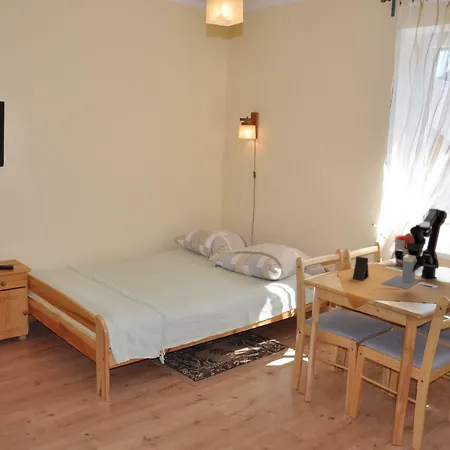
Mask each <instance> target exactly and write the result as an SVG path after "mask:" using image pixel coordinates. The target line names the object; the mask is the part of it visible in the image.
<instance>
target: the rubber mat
mask: <svg viewBox="0 0 450 450" xmlns="http://www.w3.org/2000/svg"><path fill="white" fill-rule="evenodd" d="M420 282H422V279H419V278H415V282H413V283H412V284H407V283H402V275H398V274H397V275H394V276H393V277H392V278H389V279H388V280H386V281H384V282H381V285H385V286H388V287H389V286H390V287H394V288H400V289H405V290H408V289H410V288H412V287H414V286H415V285H416V284H418V283H420Z"/></svg>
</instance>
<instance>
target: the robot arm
mask: <svg viewBox="0 0 450 450" xmlns="http://www.w3.org/2000/svg"><path fill="white" fill-rule="evenodd" d="M447 217H448V213H447V212H446V210H444V209H443V210H441V209H439V208H433V207H431V208H429V210H428V213H427V215H426V217H425V218H424V219H423V222H420V223H418V224H416V225H414V226H413V227H411V228H410V230H409V233H410V234H411V236H412V239H413V240H414V241H413V244H411V243H408V244H407V248H406V249H407V250H408V251H407V252H408V253H409V254H408V255H414V256H416V259H417V262H416V264H415V266H414V268H413V272H415V273H416V271H418V269H420V267H422V270H421V274H420V275H419V276H420V277H422V278H424V279H427V280H430V279H431V280H432V279H438V278H437V277H436V269H439V266H440V263H439V260H438V254H437V252H436V249H437V244H438V240H439V237H440V236H439V235H440V232H441V231H440V230H441V227H442V226H443V225H444V223H445V221H446V219H447ZM426 238H428V240H426ZM427 241H428V242H427ZM426 242H427V247H426V249H424V247H425V245H426ZM423 249H424V250H423ZM393 254H394V257H395V256H396V259H399V260H402V261H403V257H404V256H405V255H406V253H404V251H402V250H396V251H395V250H394V253H393ZM396 259H395V260H396Z"/></svg>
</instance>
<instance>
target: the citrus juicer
mask: <svg viewBox="0 0 450 450" xmlns="http://www.w3.org/2000/svg"><path fill="white" fill-rule="evenodd" d="M394 238H395V240H394V241H395V242H394V252H395V251H396V250H402V251H404V253H406V254H409V253H408V252H407V251H408V250H407V249H406V248H407V244H408V243H411V244H413V241H414V240H413V239H412V236H411V233H410V232H408V233H406V234H404V235H395V237H394ZM394 260H395V264H397V265H398V266H400V267H403V261H402V260H399V259H396V256H395V255H394ZM416 262H417V259H416Z"/></svg>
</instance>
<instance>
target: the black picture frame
mask: <svg viewBox="0 0 450 450" xmlns="http://www.w3.org/2000/svg"><path fill="white" fill-rule="evenodd" d="M369 276H370V275H369V258H368V257H364V256H356V257H355V264H354V269H353V276H352V280H358V281H365V280H366V279H369Z"/></svg>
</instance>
